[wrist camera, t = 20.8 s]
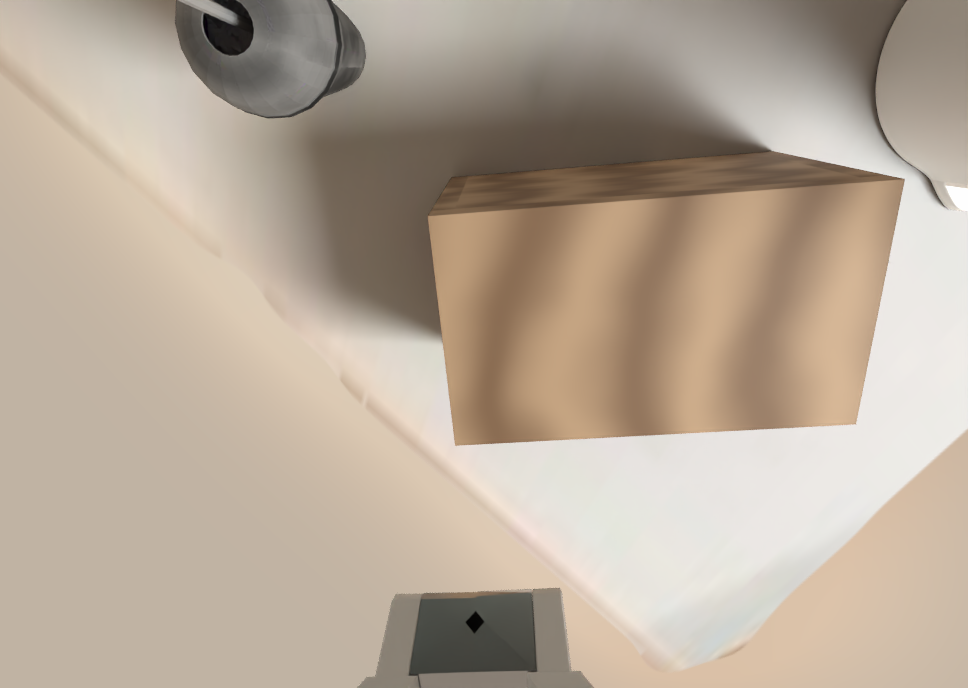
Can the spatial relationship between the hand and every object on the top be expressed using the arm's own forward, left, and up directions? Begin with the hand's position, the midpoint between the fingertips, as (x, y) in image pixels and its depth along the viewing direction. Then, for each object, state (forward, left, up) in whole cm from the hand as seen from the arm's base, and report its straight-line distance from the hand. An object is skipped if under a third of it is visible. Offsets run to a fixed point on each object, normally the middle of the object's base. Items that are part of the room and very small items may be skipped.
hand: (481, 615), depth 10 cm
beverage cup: (+10, -12, -34) cm, 38 cm away
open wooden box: (-8, +3, -34) cm, 35 cm away
